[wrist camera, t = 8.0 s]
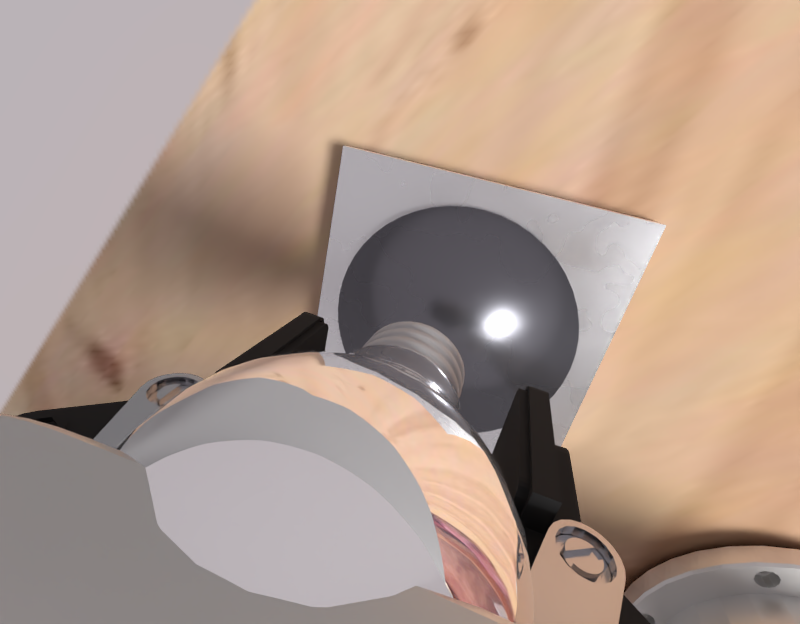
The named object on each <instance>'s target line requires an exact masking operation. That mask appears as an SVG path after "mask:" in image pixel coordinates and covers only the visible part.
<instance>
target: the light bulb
mask: <svg viewBox="0 0 800 624" xmlns="http://www.w3.org/2000/svg"><path fill="white" fill-rule="evenodd" d="M464 376H465V372H464V365H463V361H462V358H461V356H460V354H459V352H458V350H457V348H456V347H455V346H454V344H453V343H452V342H451V341H450V340H449V339H448V338H447V337H446V336H445V335H444V334H443V333H441V332H440V331H438V330H437V329H435V328H433V327H431V326H429V325H426V324H423V323H418V322H412V321H402V322H396V323H392V324H389V325H387V326H385V327H383V328H381V329H380V330H378V331H377V332H376V333H375V334H374V335H373V336H372V337H371V338H370V339H369V340H368V341H367V342H366V343H365V345H364V346H363V347H362V348H360V349H356V350H354V351H352V352H350V353H349V354H347V353H338V352H329V351H315V350H312V351H300V352H288V353H279V354H275V355H271V356H267V357H263V358H259V359H255V360H251V361H248V362H245V363H242V364H239V365H236V366H233V367H229V368H226V369H223V370H221V371H219V372H217V373H215V374H213V375H212V376H210V377H208V378H206V379H204V380H202V381H200V382H198V383H196V384H194V385H192V386H191V387H189V388H187V389H185V390H184V391H182V392H181V393H179V394H178V395H176V396H175V397H173V398H172V399H170V400H168V401H167V402H165V403H164V404H162V405H161V406H160V407H159V408H157V409H156V410H155V411H154V412H153V413H151V414H150V415H149V416H148V417H146V418H145V419H144V420H143V421H142V422H140V423H139V424H138V425H137V426H136V427H134V428H133V429H132V430H131V431H130V432H128V433H127V434H126V435H125V436H124V437H123V438H122V439H121V440H120V442H119V443H118V444H117V445H116V447H115V449H117V450H120V451H122V452H124V453H125V454H127V455H129V456H130V457H132V458H133V459H134V460H136V461H137V462H139V463H140V464H141V465H143V466H145V468H146V473H147V477H148V482H149V487H150V492H151V496H152V501H153V506H154V510H155V515H156V520H157V524H158V526H159V527H160V529H161V530H162V531H163V532H164V533H165V534H166V535H167V536H168V537H169V538H170V539H171V540H172V541H173V542H174V543H175V544H176V545H177V546H178V547H179V548H180V549H181V550H182V551H183V552H184V553H185V554H186V555H187V556H188V557H189V558H190V559H191V560H192V561H193V562H194V563H195V564H197V565H199V566H201V567H203V568H205V569H207V570H208V571H210V572H212V573H214V574H216V575H218V576H220V577H222V578H224V579H226V580H228V581H229V582H231V583H233V584H235V585H237V586H239V587H241V588H243V589H244V590H246V591H248V592H252V593H256V594H261V595H265V596H269V597H274V598H278V599H282V600H286V601H290V602H294V603H298V604H302V605H306V606H310V607H332V606H338V605H344V604H350V603H356V602H361V601H367V600H372V599H378V598H384V597H389V596H393V595H396V594H398V593H400V592H403V591H405V590H407V589H410V588H412V587H414V586H419V587H422V588H425V589H428V590H431V591H434V592H437V593H440V594H442V595H445V596H448V597H451V598H454V599H457V600H460V601H463V602H466V603H469V604H471V605H474V606H477V607H480V608H483V609H485V610H487V611H489V612H492V613H494V614H496V615H498V616H500V617H502V618H505V619H507V620H509V621H511V622H513V623H515V624H533V618H534V604H535V600H534V593H533V586H532V578H531V571H530V564H529V557H528V550H527V542H526V535H525V530H524V527H523V524H522V522H521V519H520V517H519V514H518V512H517V509H516V506H515V504H514V501H513V499H512V496H511V494H510V491H509V489H508V486H507V484H506V481H505V479H504V476H503V474H502V471H501V468H500V466H499V464H498V463H497V461H496V460H495V458H494V457H493V455H492V454H491V452H490V451H489V449H488V448H487V446H486V445H485V443H484V442H483V440H482V438H481V437H480V435H479V434H478V433H477V432H476V430H475V429H474V428H473V427H472V425H471V424H470V423H469V422H468V420H467V419H466V418H465V417H464V416H463V415H462V411H461V405H460V400H459V398H460V395H461V391H462V386H463V383H464Z"/></svg>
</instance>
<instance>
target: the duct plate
mask: <svg viewBox="0 0 800 624" xmlns="http://www.w3.org/2000/svg"><path fill="white" fill-rule="evenodd" d="M665 227H666V225H664V224H661V223H659V222H655V221H651V220H647V219H643V218H639V217H635V216H631V215H627V214H623V213H619V212H615V211H611V210H607V209H603V208H599V207H595V206H591V205H586V204H582V203H578V202H574V201H570V200H566V199H562V198H558V197H554V196H550V195H546V194H542V193H538V192H534V191H530V190H526V189H522V188H518V187H514V186H510V185H505V184H501V183H497V182H493V181H489V180H485V179H481V178H477V177H473V176H469V175H465V174H461V173H457V172H453V171H449V170H445V169H441V168H437V167H433V166H428V165H424V164H420V163H416V162H412V161H408V160H404V159H400V158H396V157H392V156H388V155H384V154H380V153H376V152H372V151H368V150H364V149H360V148H356V147H350V146H343V151H342V157H341V164H340V170H339V177H338V184H337V190H336V197H335V204H334V210H333V217H332V223H331V230H330V237H329V243H328V250H327V256H326V263H325V270H324V276H323V283H322V289H321V296H320V303H319V309H318V316H319V317H322V318H323V319H324V323H326V324H328V335H327V341H326V347H325V351H329V352H338V353H347V354H349V353H350V352H352V351H354V350H356V349H360V348H362V347H363V346H364V345H365V343H366V342H367V341H368V340H369V339H370V338H371V337H372V336H373V335H374V334H375V333H376V332H377V331H378V330H380V329H381V328H383V327H385V326H387V325H389V324H392V323H396V322H402V321H412V322H418V323H423V324H426V325H429V326H431V327H433V328H435V329H437V330H438V331H440V332H441V333H443V334H444V335H445V336H446V337H447V338H448V339H449V340H450V341H451V342H452V343H453V344H454V346H455V347H456V348H457V350H458V352H459V354H460V356H461V358H462V361H463V365H464V372H465V376H464V383H463V386H462V391H461V395H460V398H459V400H460V405H461V411H462V415H463V416H464V417H465V418H466V419H467V420H468V422H469V423H470V424H471V425H472V427H473V428H474V429H475V430H476V432H477V433H478V434H479V435H480V437H481V438H482V440H483V442H484V443H485V445H486V446H487V448H488V449H489V451H490V452H491V454H492V453H493V450H494V447H495V445H496V442H497V440H498V437H499V435H500V432H501V430H502V427H503V425H504V422H505V420H506V417H507V415H508V412H509V410H510V407H511V405H512V402H513V400H514V397H515V395H516V392H517V390H518V389H519V388H520V389H523V390H525V389H526V387H527V386H530V387H533V388H536V389H539V390H542V391H546V392H548V393H549V399H550V407H551V415H552V423H553V432H554V440H555V445H557V446H560V447H561V445H562V443H563V441H564V439H565V437H566V434H567V432H568V430H569V428H570V426H571V424H572V422H573V420H574V418H575V416H576V413H577V411H578V409H579V407H580V405H581V403H582V401H583V399H584V397H585V395H586V392H587V390H588V388H589V386H590V384H591V382H592V380H593V378H594V376H595V374H596V371H597V369H598V367H599V365H600V363H601V361H602V359H603V357H604V355H605V353H606V350H607V348H608V346H609V344H610V342H611V340H612V338H613V336H614V334H615V332H616V330H617V327H618V325H619V323H620V321H621V319H622V317H623V315H624V313H625V311H626V309H627V306H628V304H629V302H630V300H631V298H632V296H633V294H634V292H635V290H636V288H637V285H638V283H639V281H640V279H641V277H642V275H643V273H644V271H645V269H646V267H647V264H648V262H649V260H650V258H651V256H652V254H653V252H654V250H655V248H656V246H657V243H658V241H659V239H660V237H661V235H662V233H663V231H664V229H665Z"/></svg>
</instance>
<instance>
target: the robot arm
mask: <svg viewBox="0 0 800 624" xmlns="http://www.w3.org/2000/svg"><path fill="white" fill-rule="evenodd" d="M327 335H328V324H326V323H324V319H323V318H322V317H319V316H316V315H313V314H310V313H307V312H304V313H302V314H301V315H299V316H298V317H297V318H295V319H294V320H292V321H291V322H289V323H288V324H286V325H285V326H283V327H282V328H280V329H279V330H277V331H276V332H274V333H273V334H271V335H270V336H268V337H267V338H265V339H264V340H262V341H261V342H259V343H258V344H256V345H255V346H254V347H252V348H251V349H249V350H248V351H246V352H245V353H243V354H242V355H240V356H239V357H237V358H236V359H234V360H233V361H231V362H230V363H228V364H227V365H225V366H224V367H222V368H221V369H219V370H218V371H216V372H215V373H217V372H219V371H221V370H223V369H226V368H229V367H233V366H236V365H239V364H242V363H245V362H248V361H251V360H255V359H259V358H263V357H267V356H271V355H275V354H279V353H288V352H300V351H312V350H315V351H325V347H326V341H327ZM202 380H204V379H202V378H200V377H199V376H196V375H192V374H184V373H175V374H167V375H163V376H159V377H156V378H154V379H152V380H150V381H148V382H147V383H145V384H144V385H143V386H142V387H141V388H140V389H139V390H138V391H137V392H136V393H135V394H134V395H133V396H132V397H131V399H130V400H129V401H122V402H113V403H104V404H95V405H86V406H78V407H69V408H60V409H51V410H42V411H35V412H30V413H24V414H21V415H18V416H12V415H6V414H0V624H515V623H513V622H511V621H509V620H507V619H505V618H502V617H500V616H498V615H496V614H494V613H492V612H489V611H487V610H485V609H483V608H480V607H477V606H474V605H471V604H469V603H466V602H463V601H460V600H457V599H454V598H451V597H448V596H445V595H442V594H440V593H437V592H434V591H431V590H428V589H425V588H422V587H419V586H414V587H412V588H410V589H407V590H405V591H403V592H400V593H398V594H396V595H393V596H389V597H384V598H378V599H372V600H367V601H361V602H356V603H350V604H344V605H338V606H332V607H310V606H306V605H302V604H298V603H294V602H290V601H286V600H282V599H278V598H274V597H269V596H265V595H261V594H256V593H252V592H248V591H246V590H244V589H243V588H241V587H239V586H237V585H235V584H233V583H231V582H229V581H228V580H226V579H224V578H222V577H220V576H218V575H216V574H214V573H212V572H210V571H208V570H207V569H205V568H203V567H201V566H199V565H197V564H195V563H194V562H193V561H192V560H191V559H190V558H189V557H188V556H187V555H186V554H185V553H184V552H183V551H182V550H181V549H180V548H179V547H178V546H177V545H176V544H175V543H174V542H173V541H172V540H171V539H170V538H169V537H168V536H167V535H166V534H165V533H164V532H163V531H162V530H161V529H160V527H159V526H158V524H157V520H156V515H155V510H154V506H153V501H152V496H151V492H150V487H149V482H148V477H147V473H146V468H145V466H143V465H141V464H140V463H139V462H137V461H136V460H134V459H133V458H132V457H130V456H129V455H127V454H125V453H124V452H122V451H120V450H117V449H115V447H116V445H117V444H118V443H119V442H120V440H121V439H122V438H123V437H124V436H125V435H126V434H127V433H128V432H130V431H131V430H132V429H133V428H134V427H136V426H137V425H138V424H139V423H140V422H142V421H143V420H144V419H145V418H146V417H148V416H149V415H150V414H151V413H153V412H154V411H155V410H156V409H157V408H159V407H160V406H161V405H162V404H164V403H165V402H167V401H168V400H170V399H172V398H173V397H175V396H176V395H178V394H179V393H181V392H182V391H184V390H185V389H187V388H189V387H191V386H192V385H194V384H196V383H198V382H200V381H202ZM492 455H493V457H494V458H495V460H496V461H497V463H498V464H499V466H500V468H501V471H502V474H503V476H504V479H505V481H506V484H507V486H508V489H509V491H510V494H511V496H512V499H513V501H514V504H515V506H516V509H517V512H518V514H519V517H520V519H521V522H522V524H523V527H524V530H525V535H526V542H527V550H528V557H529V564H530V571H531V578H532V586H533V593H534V600H535V604H534V618H533V624H800V550H799V549H790V548H780V547H770V546H727V547H720V548H713V549H707V550H700V551H696V552H692V553H689V554H686V555H682V556H679V557H676V558H672V559H670V560H668V561H666V562H664V563H662V564H660V565H658V566H656V567H654V568H652V569H650V570H648V571H647V572H646V573H644V574H643V575H642V576H641V577H639V578H638V579H637V580H635V581H634V582H633V583H632V584H631V585H630V586H629V588H628V589H627V590H626V591H625V593H624V587H625V581H626V574H625V568H624V565H623V562H622V560H621V558H620V556H619V555H618V553H617V552H616V550H615V549H614V547H613V546H612V545H611V544H610V543H609V542H608V541H607V540H606V539H605V538H604V537H603V536H602V535H600V534H599V533H598V532H596V531H595V530H594V529H592V528H591V527H589V526H587V525H585V524H583V523H581V520H580V514H579V508H578V502H577V496H576V490H575V484H574V478H573V472H572V466H571V460H570V454H569V451H568V450H567V449H566V448H563V447H560V446H557V445H555V440H554V432H553V423H552V415H551V407H550V399H549V393H548V392H546V391H542V390H539V389H536V388H533V387H530V386H527V387H526V389H525V390H523V389H520V388H519V389H518V390H517V392H516V395H515V397H514V400H513V402H512V405H511V407H510V410H509V412H508V415H507V417H506V420H505V422H504V425H503V427H502V430H501V432H500V435H499V437H498V440H497V442H496V445H495V447H494V450H493V453H492ZM623 593H624V594H623Z"/></svg>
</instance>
